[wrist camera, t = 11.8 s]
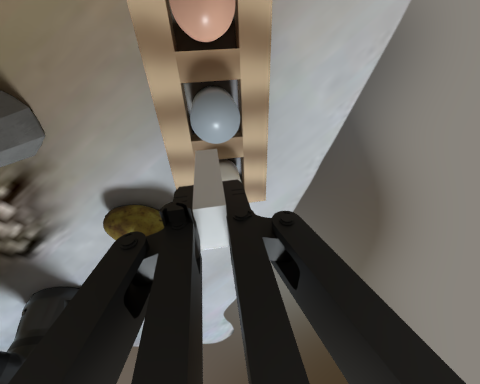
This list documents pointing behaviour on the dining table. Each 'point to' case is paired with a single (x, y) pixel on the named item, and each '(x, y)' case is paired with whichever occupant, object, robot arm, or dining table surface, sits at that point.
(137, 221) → the potato
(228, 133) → the slate egg
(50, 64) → the dining table surface
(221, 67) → the wooden egg rack
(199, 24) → the pink egg
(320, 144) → the dining table surface
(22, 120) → the coffeepot
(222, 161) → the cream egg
